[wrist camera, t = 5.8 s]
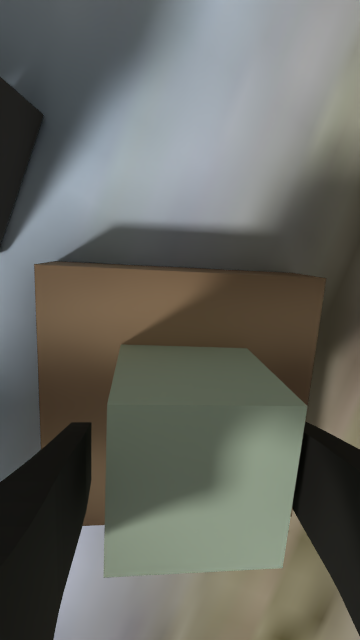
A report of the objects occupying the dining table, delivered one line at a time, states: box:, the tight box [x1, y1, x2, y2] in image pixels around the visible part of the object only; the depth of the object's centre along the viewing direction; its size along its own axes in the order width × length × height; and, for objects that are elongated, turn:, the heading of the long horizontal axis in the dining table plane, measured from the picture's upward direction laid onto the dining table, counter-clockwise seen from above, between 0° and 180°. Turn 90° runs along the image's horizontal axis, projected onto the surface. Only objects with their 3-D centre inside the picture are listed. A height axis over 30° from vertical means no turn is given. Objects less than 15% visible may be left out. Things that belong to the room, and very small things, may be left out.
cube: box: [104, 344, 307, 578], centre depth 11 cm, size 5×5×5 cm
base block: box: [34, 261, 326, 526], centre depth 15 cm, size 11×11×3 cm
